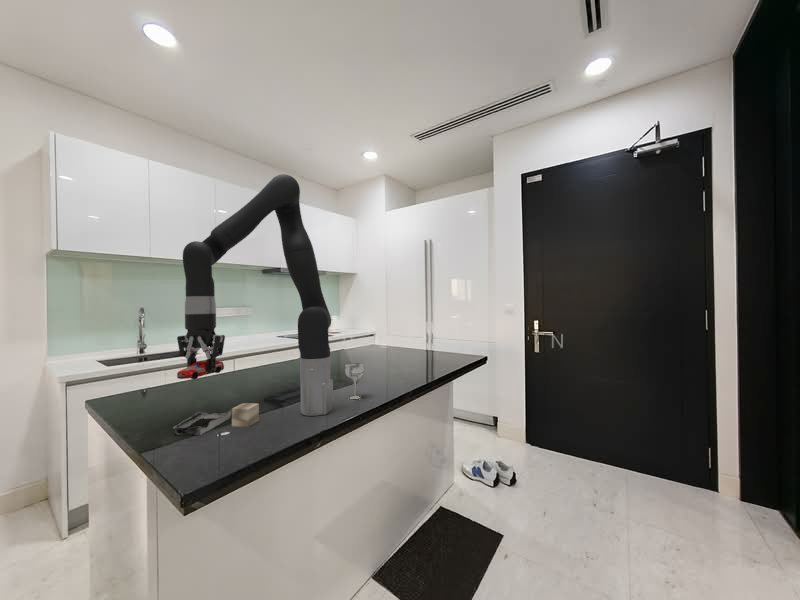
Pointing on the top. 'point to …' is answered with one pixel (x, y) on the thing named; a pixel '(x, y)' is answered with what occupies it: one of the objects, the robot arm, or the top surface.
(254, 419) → the birch block
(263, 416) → the top surface
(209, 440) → the top surface
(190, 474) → the top surface
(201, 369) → the race car
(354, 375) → the wineglass
